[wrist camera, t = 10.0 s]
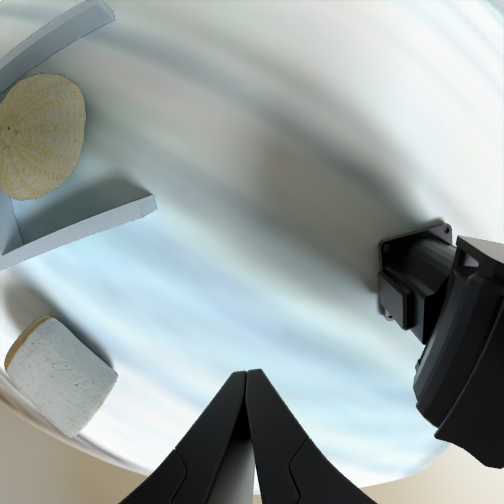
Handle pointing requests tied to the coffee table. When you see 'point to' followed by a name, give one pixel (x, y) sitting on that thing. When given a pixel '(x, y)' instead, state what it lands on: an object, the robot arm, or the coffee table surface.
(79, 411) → the ceramic mug
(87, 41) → the coffee table surface
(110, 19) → the corral
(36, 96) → the sea urchin shell
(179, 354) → the coffee table surface
